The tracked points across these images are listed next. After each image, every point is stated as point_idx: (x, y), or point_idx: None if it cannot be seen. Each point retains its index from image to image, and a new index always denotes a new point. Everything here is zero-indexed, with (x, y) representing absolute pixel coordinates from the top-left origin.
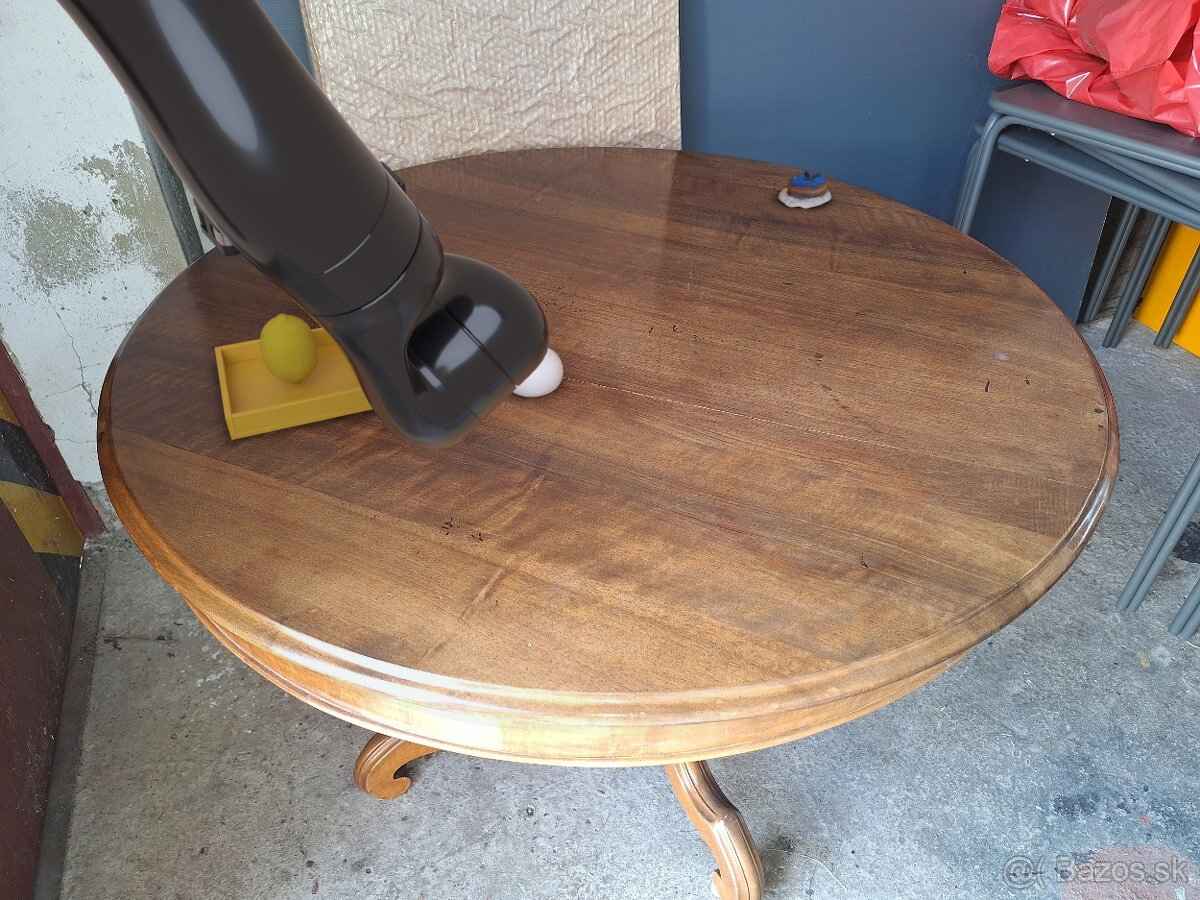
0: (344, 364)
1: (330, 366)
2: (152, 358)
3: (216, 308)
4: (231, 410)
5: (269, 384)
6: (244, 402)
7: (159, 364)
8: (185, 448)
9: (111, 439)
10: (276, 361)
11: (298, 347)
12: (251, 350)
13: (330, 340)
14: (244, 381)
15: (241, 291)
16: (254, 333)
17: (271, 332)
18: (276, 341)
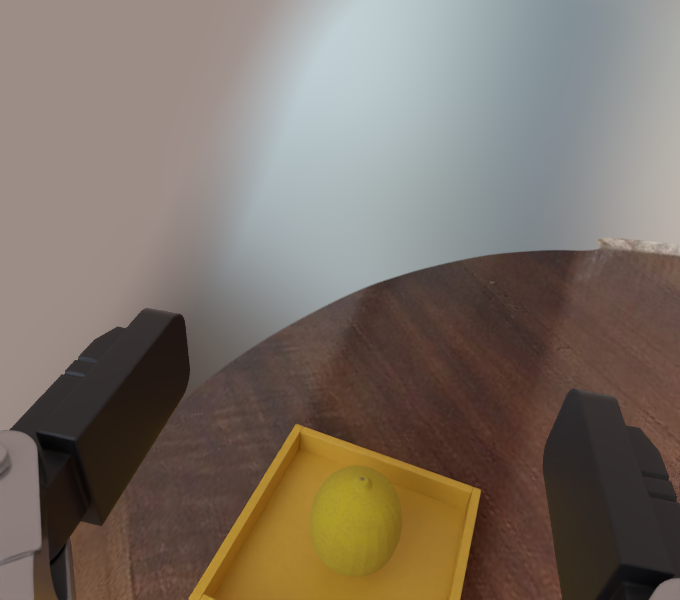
0: (433, 564)
1: (412, 552)
2: (250, 381)
3: (361, 344)
4: (217, 575)
5: None
6: (262, 547)
7: (248, 395)
8: (136, 586)
9: None
10: (318, 541)
11: (357, 548)
12: (335, 452)
13: (441, 497)
14: (294, 499)
15: (401, 334)
16: (370, 408)
17: (331, 500)
18: (329, 520)
